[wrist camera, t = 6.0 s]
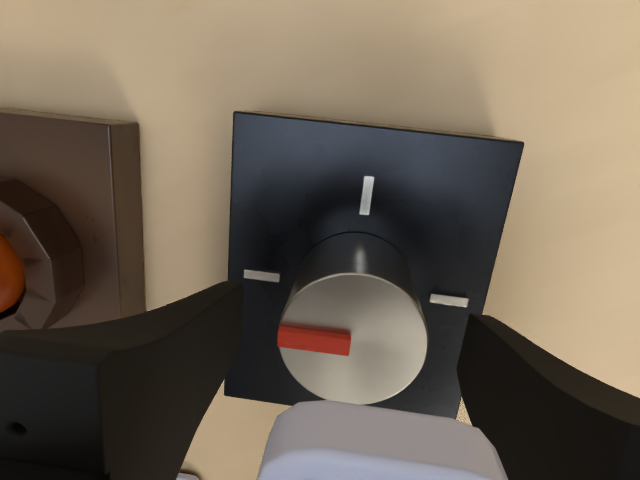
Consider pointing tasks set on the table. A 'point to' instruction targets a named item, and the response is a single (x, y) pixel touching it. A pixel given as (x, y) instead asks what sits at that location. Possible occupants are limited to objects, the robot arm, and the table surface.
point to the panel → (368, 218)
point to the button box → (72, 218)
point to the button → (10, 275)
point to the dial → (353, 321)
